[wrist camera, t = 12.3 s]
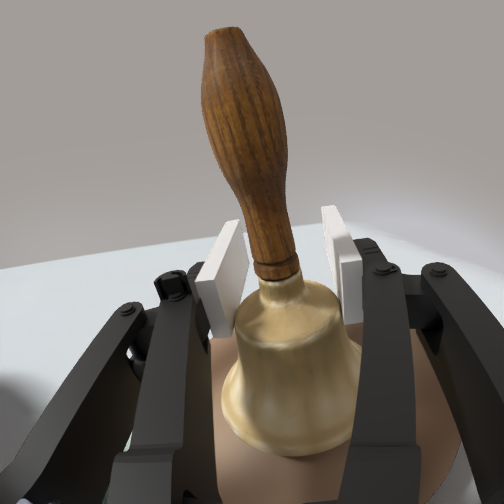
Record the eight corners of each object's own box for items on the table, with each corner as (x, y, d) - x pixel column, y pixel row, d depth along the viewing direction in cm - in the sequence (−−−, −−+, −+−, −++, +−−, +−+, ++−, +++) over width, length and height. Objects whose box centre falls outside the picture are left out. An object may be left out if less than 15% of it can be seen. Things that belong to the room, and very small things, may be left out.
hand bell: (274, 489, 9) (118, -25, 3) (198, 379, 16) (101, 83, 10) (413, 385, 13) (406, 7, 6) (314, 319, 19) (269, 56, 13)
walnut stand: (117, 456, 16) (94, 432, 14) (268, 317, 28) (262, 290, 27) (367, 608, 4) (376, 612, 3) (468, 359, 17) (478, 328, 16)
